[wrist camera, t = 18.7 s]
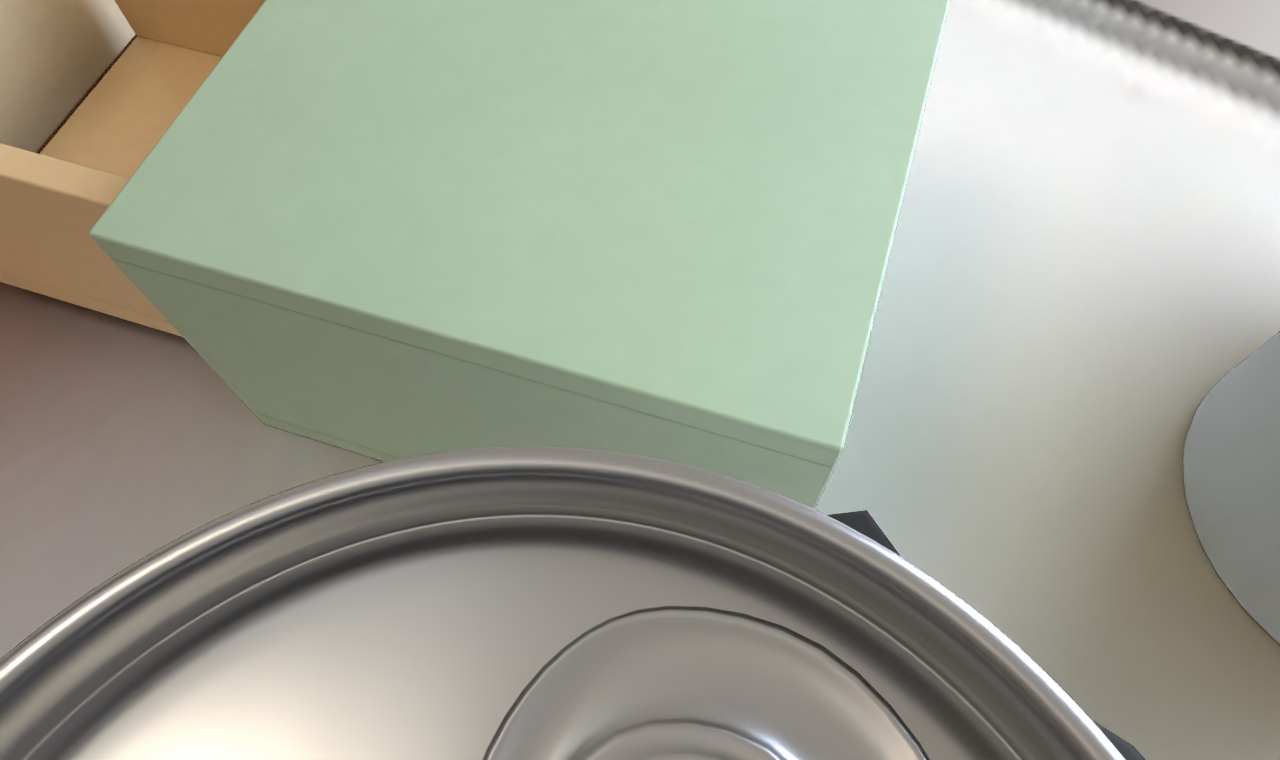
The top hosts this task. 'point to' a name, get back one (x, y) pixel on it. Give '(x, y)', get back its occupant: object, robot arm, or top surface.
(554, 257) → the cabinet
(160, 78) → the drawer
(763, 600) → the can
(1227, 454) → the coffee mug
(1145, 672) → the top surface
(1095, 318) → the top surface
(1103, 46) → the top surface
